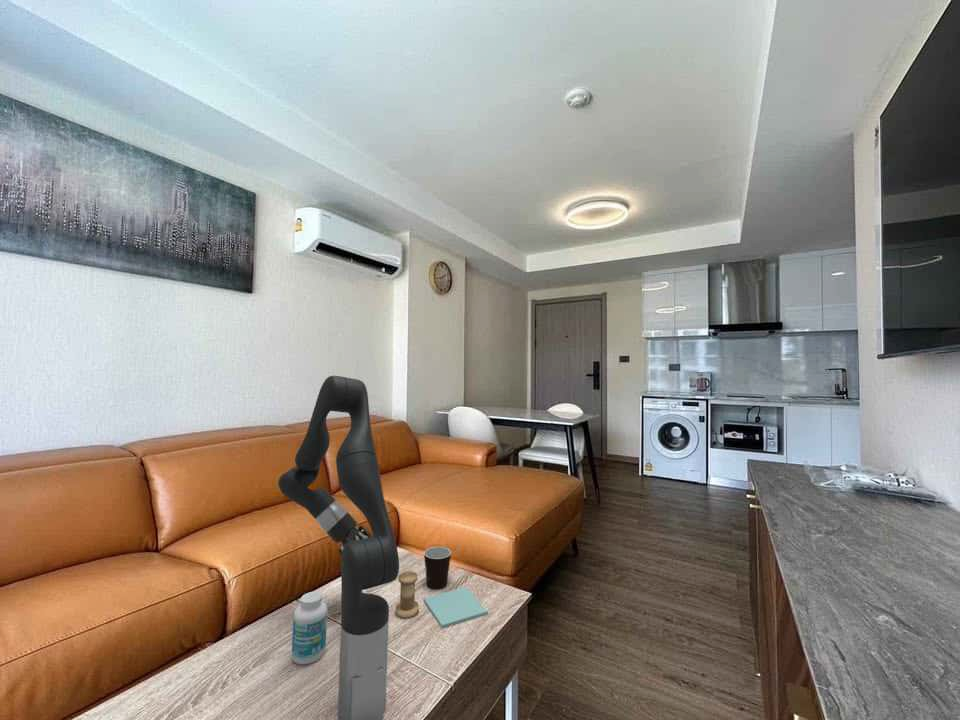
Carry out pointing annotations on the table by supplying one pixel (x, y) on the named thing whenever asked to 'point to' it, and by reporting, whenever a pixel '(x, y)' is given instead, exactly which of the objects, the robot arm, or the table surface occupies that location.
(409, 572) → the tan chess pawn
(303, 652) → the pill bottle
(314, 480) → the robot arm
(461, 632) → the table surface
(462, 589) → the mat
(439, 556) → the coffee mug
